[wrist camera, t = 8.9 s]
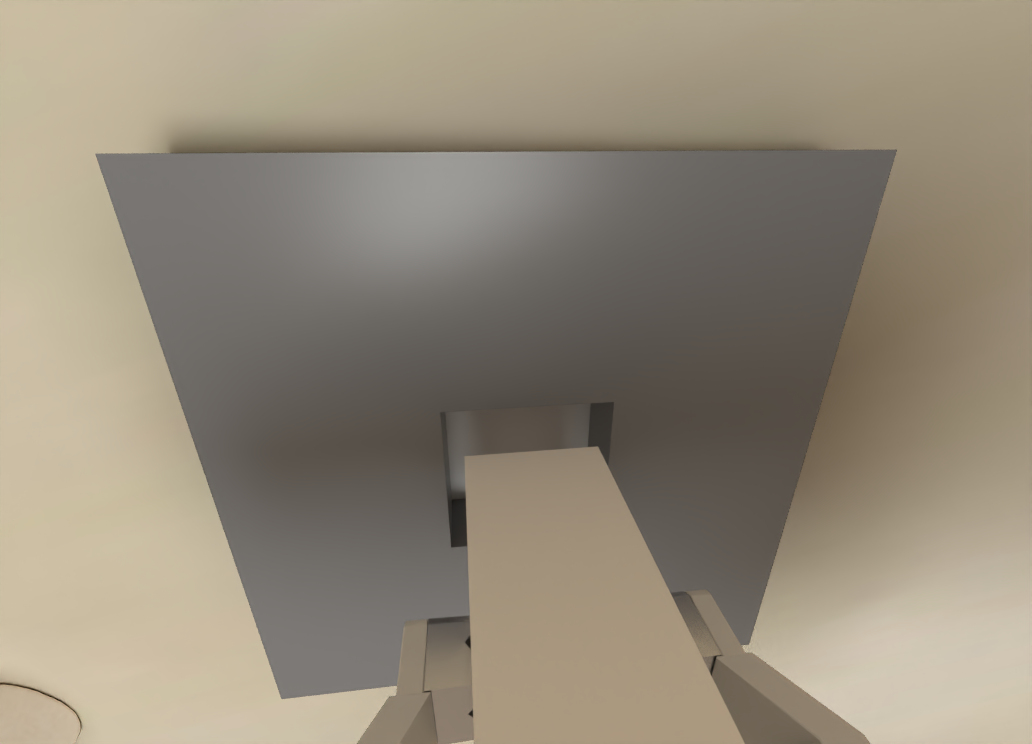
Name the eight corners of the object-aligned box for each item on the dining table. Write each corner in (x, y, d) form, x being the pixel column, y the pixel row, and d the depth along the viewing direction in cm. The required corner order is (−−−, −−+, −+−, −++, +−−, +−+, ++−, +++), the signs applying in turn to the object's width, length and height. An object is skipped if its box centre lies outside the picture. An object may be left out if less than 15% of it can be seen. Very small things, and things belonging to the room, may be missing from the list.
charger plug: (598, 446, 14) (822, 900, 6) (590, 546, 16) (753, 1015, 7) (464, 455, 14) (481, 962, 5) (470, 558, 15) (491, 1071, 7)
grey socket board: (819, 150, 16) (897, 149, 13) (715, 588, 24) (748, 644, 21) (168, 154, 13) (95, 154, 11) (303, 631, 22) (281, 699, 19)
